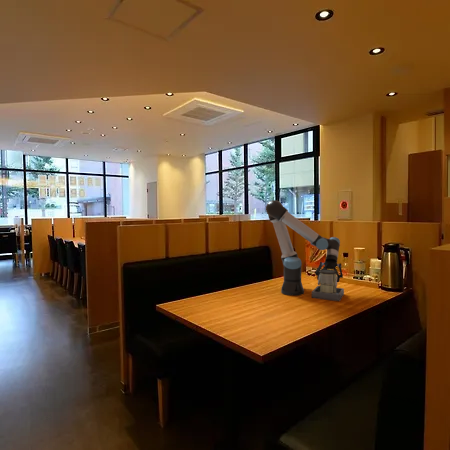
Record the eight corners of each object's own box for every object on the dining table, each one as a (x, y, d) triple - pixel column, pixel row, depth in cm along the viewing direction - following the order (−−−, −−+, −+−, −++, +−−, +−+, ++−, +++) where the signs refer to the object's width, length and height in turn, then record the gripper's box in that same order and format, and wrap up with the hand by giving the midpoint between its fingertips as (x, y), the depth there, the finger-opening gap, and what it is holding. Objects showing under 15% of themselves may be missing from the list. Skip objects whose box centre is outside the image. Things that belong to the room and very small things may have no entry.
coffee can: (318, 290, 211) (318, 269, 211) (334, 290, 210) (334, 269, 210) (321, 294, 201) (321, 272, 200) (338, 294, 200) (338, 272, 199)
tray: (311, 297, 202) (311, 291, 202) (317, 291, 217) (317, 285, 217) (339, 301, 194) (339, 294, 194) (343, 294, 209) (343, 288, 209)
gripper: (350, 261, 213) (346, 290, 200) (315, 259, 224) (310, 286, 211) (349, 254, 208) (345, 283, 195) (314, 252, 219) (308, 280, 206)
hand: (327, 285), depth 203 cm, fingers closed on coffee can, 10 cm apart
